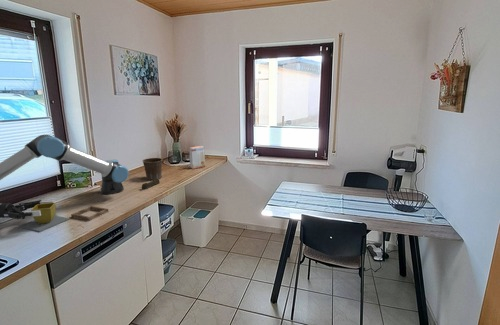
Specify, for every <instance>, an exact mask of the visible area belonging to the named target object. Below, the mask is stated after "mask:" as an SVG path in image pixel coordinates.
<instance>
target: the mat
mask: <svg viewBox="0 0 500 325" xmlns="http://www.w3.org/2000/svg"><path fill="white" fill-rule="evenodd" d="M69 220H70V218H68V217H64V216H59V215H55V216H54V218H53V219H52V221H51V222H49V223H41V224H39V223H38V222H36V221H35V219H33V220H31V221H28V222H26V223H24V224H20V225H18V228H21V229H24V230H30V231H33V232H38V233H41V232H44V231H46V230H48V229H51V228H53V227H56V226H57V225H59V224H62V223H65V222H67V221H69Z"/></svg>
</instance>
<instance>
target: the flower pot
mask: <svg viewBox="0 0 500 325" xmlns="http://www.w3.org/2000/svg"><path fill="white" fill-rule="evenodd" d="M30 209H31V210H30V211H39V210H40V212H41V216H32V217H33V220H35V221H36V222H38V223H39V224H41V223H49V222H51V221H52V219H53V218H54V216H56V212H57V211H56V202H54V203H46V204H37V205H36V206H35V207H34V208H30Z"/></svg>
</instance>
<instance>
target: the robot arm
mask: <svg viewBox="0 0 500 325" xmlns="http://www.w3.org/2000/svg"><path fill="white" fill-rule="evenodd" d="M42 156H43V157H46V158H49V159H50V158H51V159H53V160H56V161H57V162H58V161H63V160H64V161H65V162H69V163H72V164H74V165H77V166H79V167H82V168H85V169H88V170H90V171H93V172H96V173H99V174H101V175H100V176H101V187H100V193H101V194H104V195H113V194H118V193H121V192H124V185H123V182H125V181H126V180H127V179H128V177H129V175H130V172H129V169H128V167H127V166H125V165H123V164H120V163H119V160H118V159H108V160H103V159H102V158H99V157H98V156H97V157H96V156H95V155H92V154H89V153H87V152H84V151H82V150H80V149H77V148H76V147H75V148H74V147H72V146H71V145H70V143H69V142H67V141H64V140H62V139H60V138H58V137H57V136H53V135H51V134H50V135H49V134H41V135H38V136H37V137H35V138H34V139H32V140H31V141H29V142H28V143H26V144H24V148H22V149H20V150H19V151H17V152H15V153H13V154H12V155H11V156H10V157H7V158H6V159H4V160H3V161H1V162H0V181H2V180H3V179H4V178H6V177H8V176H9V175H10V174H12V173H14V172H15V171H16V170H18V169H20V168H21V167H23V166H25V165H26V164H28V163H29V162H31V161H32V160H34V159H36V158H37V159H39V158H40V157H42ZM46 203H55V201H54V200H47V201H42V200H41V199H39V200H35V201H34V200H33V201H27V202H21V203H18V204H16V205H14V204H13V203H10V202H8V203H7V202H5V203H4V202H3V203H1V202H0V219H1V218H2V219H5V218H6V219H7V218H10V219H15V220H24V219H26V218H27V217H28V218H29V217H33V216H41V212H40V210H39V211H31V210H30V209H33V208H34V207H35V206H36V205H37V204H46Z"/></svg>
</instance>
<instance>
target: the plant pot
mask: <svg viewBox="0 0 500 325" xmlns="http://www.w3.org/2000/svg"><path fill="white" fill-rule="evenodd" d="M142 164H143V166H144V171H145V176H146V180H147V181H148V180H149V181H154V180H155V179H159V180H160V179H162V177H163V176H162V171H163V169H162V168H163V158H160V157H151V158H150V157H148V158H145V159H142Z"/></svg>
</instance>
